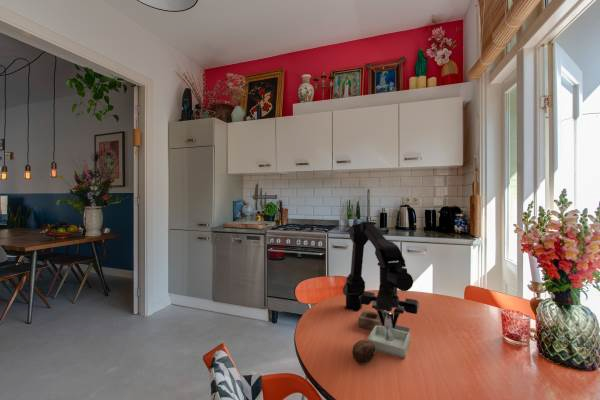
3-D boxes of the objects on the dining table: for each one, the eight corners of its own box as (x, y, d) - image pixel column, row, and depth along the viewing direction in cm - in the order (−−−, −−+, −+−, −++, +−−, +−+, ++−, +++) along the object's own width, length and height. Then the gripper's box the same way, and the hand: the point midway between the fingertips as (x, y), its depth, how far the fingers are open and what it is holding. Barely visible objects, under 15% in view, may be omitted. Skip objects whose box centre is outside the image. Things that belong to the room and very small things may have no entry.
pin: (383, 339, 92) (383, 313, 92) (385, 335, 95) (385, 310, 95) (392, 342, 91) (392, 315, 91) (394, 338, 94) (393, 312, 94)
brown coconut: (382, 346, 86) (371, 331, 85) (381, 369, 79) (369, 354, 78) (360, 351, 90) (350, 338, 89) (358, 374, 83) (346, 359, 82)
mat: (386, 332, 102) (386, 331, 102) (390, 324, 108) (390, 323, 108) (406, 337, 98) (406, 335, 98) (409, 328, 104) (409, 327, 104)
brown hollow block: (358, 327, 105) (358, 317, 105) (364, 319, 112) (364, 310, 112) (379, 332, 102) (379, 322, 102) (383, 324, 108) (383, 314, 108)
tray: (366, 348, 91) (366, 339, 91) (375, 333, 101) (375, 325, 101) (404, 358, 85) (404, 349, 85) (410, 341, 95) (409, 332, 95)
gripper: (354, 283, 91) (355, 330, 91) (414, 293, 81) (415, 344, 81) (364, 275, 100) (364, 317, 100) (418, 283, 91) (419, 329, 91)
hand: (388, 326), depth 93 cm, fingers open, 3 cm apart
